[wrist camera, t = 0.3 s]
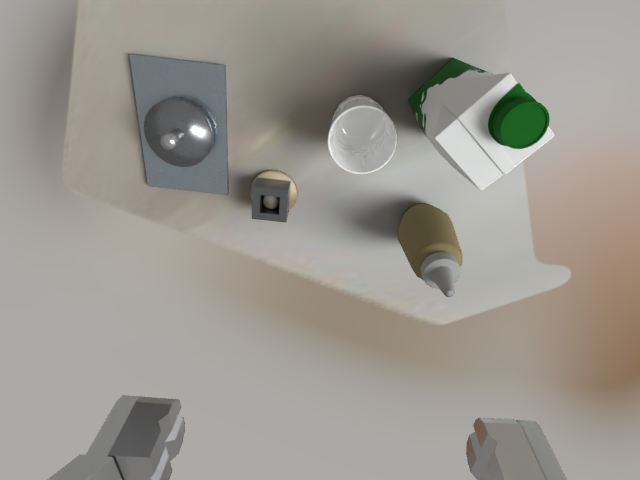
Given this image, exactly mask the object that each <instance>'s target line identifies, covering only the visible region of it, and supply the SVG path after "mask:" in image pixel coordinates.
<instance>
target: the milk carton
mask: <svg viewBox="0 0 640 480" xmlns="http://www.w3.org/2000/svg"><path fill="white" fill-rule="evenodd" d="M409 102H410V105H411V107H412V110H413V112H414V114H415V117H416V119H417V122H418V124H419V126H420V127H421V129H422V130H423V132H424V133H425V135H426V136H427V137H428V139H429V140H430V141H431V143H432V144H433V146H434V147H435V148H436V150H437V151H438V152H439V153H440V154H441V155H442V156H443V157H444V158H445V159H446V160H447V161H448V162H449V164H450V165H452V166H453V167H454V168H455V169H456V170H457V171H458V172H460V173H461V174H462V175H463V176H464V177H465V178H467V179H468V180H469V181H470V182H471V183H473V184H474V185H475V186H476V187H477V188H478V189H479V190H480V191H482V190H483V189H484V188H486V187H487V186H488V185H490V184H491V183H492V182H494V181H495V180H496V179H498V178H499V177H500V176H502V175H503V174H504V175H505V174H507V173H508V172H510V171H511V170H512V169H513V168H515V166H516V165H518V164H519V163H520V162H522V161H523V160H524V159H525V158H527V157H528V156H529V155H531V154H532V153H533V152H535V151H536V150H537V149H539V148H540V147H541V146H542V145H544V144H545V143H546V142H548V141H549V140H550V139H551V138H553V137H554V133H553V132H552V130H551V129H550V128H549V113H548V111H547V109H546V108H545V107H544V106H543V105H542V104H540V103H538V102H536V100H535V99H534V98H533V97H532V96H531V95H529V94H528V93H526V92H525V90H524V89H523V88H522V86H521V85H520V84H518V83H517V82H516V81H515V79H514V78H513V76H512V75H511V73H505V74H497V75H494V74H492V73H489V72H486V71H484V70H481V69H479V68H476V67H474V66H471V65H469V64H467V63H464V62H462V61H459V60H457V59H455V58H452V59H451V60H450V61H449V62H448V63H447V64H446V65H445V66H444V67H442V68H441V69H440V70H439V71H438V72H437V73H436V74H435V75H434V76H433V77H432V78H431V79H430V80H429V81H428V82H427V83H426V84H425V85H423V86H422V87H421V88H420V89H419V90H418V91H417V92H416V93H415V94H414V95H413V96H412V97H411V98H410V99H409Z"/></svg>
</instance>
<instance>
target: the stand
mask: <svg viewBox="0 0 640 480" xmlns="http://www.w3.org/2000/svg"><path fill="white" fill-rule="evenodd" d="M257 177H260V178H269V179H277V180H286V181H291V188H290V202H289V210H291V209H292V207H293V206H294V204H295V202H296V198H297V188H296V185H295V183H294V181H293V180H292V179H291V178H290V177H289V176H288V175H287V174H285V173H283V172H281V171H277V170H268V171H265V172H262V173H260V174H259V175H258V176H257ZM257 177H256V178H257ZM256 178H255V179H254V181H253V183H252V185H251V189H250V196H251V200H252V186H253V184H254V182H255V180H256ZM263 203H264V205H265V206H266V207H267V208H270V209H273V208H275V207H277V205H278V204H280V197H274V196H265V195H264V199H263Z"/></svg>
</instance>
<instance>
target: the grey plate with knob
mask: <svg viewBox="0 0 640 480" xmlns="http://www.w3.org/2000/svg"><path fill="white" fill-rule="evenodd" d="M129 56H130V63H131V70H132V77H133V84H134V91H135V98H136V105H137V112H138V119H139V126H140V133H141V140H142V148H143V155H144V162H145V169H146V176H147V183H148V186H151V187H160V188H169V189H178V190H187V191H196V192H205V193H214V194H223V195H228V193H229V189H228V145H227V102H226V65H221V64H212V63H204V62H195V61H187V60H178V59H170V58H161V57H153V56H145V55H136V54H130V55H129Z"/></svg>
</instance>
